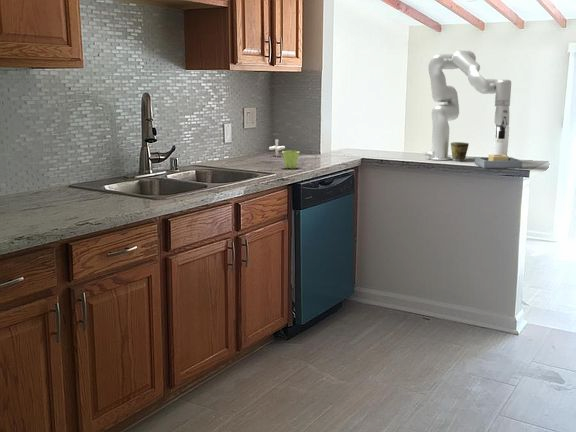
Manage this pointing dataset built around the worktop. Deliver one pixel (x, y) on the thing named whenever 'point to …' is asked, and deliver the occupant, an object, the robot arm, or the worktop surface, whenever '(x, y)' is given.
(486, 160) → the box
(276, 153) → the pipe connector
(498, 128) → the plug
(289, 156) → the plant pot
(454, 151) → the ceramic cup
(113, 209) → the worktop surface
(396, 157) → the worktop surface
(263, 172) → the worktop surface
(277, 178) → the worktop surface
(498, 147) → the bottle
